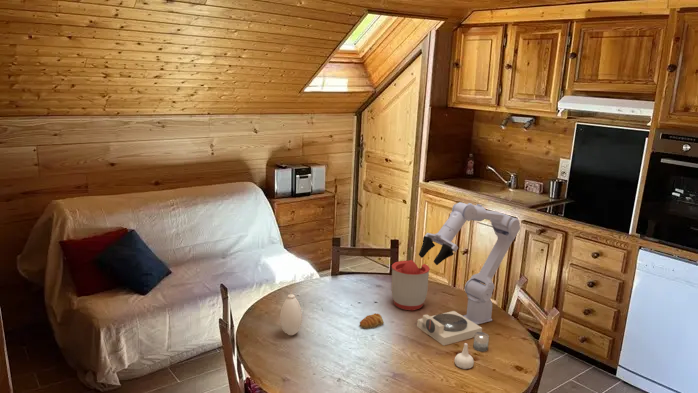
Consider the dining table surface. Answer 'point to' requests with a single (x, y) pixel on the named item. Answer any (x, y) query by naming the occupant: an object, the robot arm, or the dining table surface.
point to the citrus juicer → (409, 284)
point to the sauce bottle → (291, 315)
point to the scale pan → (451, 322)
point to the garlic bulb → (464, 359)
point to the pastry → (372, 321)
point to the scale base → (444, 336)
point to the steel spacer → (481, 341)
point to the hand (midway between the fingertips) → (427, 259)
